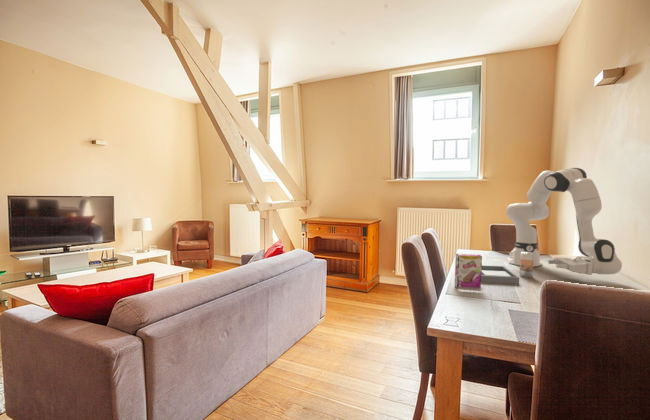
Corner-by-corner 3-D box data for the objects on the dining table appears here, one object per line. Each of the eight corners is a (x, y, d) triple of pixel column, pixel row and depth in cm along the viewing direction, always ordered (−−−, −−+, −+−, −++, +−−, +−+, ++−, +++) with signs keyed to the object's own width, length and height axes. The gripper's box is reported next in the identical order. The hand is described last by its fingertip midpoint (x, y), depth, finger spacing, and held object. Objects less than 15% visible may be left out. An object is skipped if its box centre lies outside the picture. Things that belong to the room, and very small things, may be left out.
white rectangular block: (480, 276, 178) (480, 270, 178) (504, 277, 175) (504, 271, 175) (485, 281, 168) (485, 274, 168) (510, 283, 166) (511, 276, 165)
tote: (469, 272, 190) (469, 264, 190) (503, 274, 187) (503, 266, 186) (479, 284, 167) (479, 275, 167) (518, 286, 163) (519, 277, 163)
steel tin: (517, 276, 181) (518, 251, 180) (530, 277, 180) (531, 251, 179) (521, 279, 176) (522, 253, 175) (534, 280, 174) (535, 253, 173)
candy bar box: (457, 289, 160) (458, 255, 159) (454, 285, 165) (455, 253, 164) (481, 289, 159) (482, 255, 158) (477, 286, 164) (478, 253, 162)
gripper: (572, 255, 181) (544, 254, 184) (593, 263, 162) (561, 261, 164) (571, 266, 182) (543, 265, 185) (593, 275, 162) (561, 274, 165)
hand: (552, 263), depth 174 cm, fingers open, 8 cm apart
